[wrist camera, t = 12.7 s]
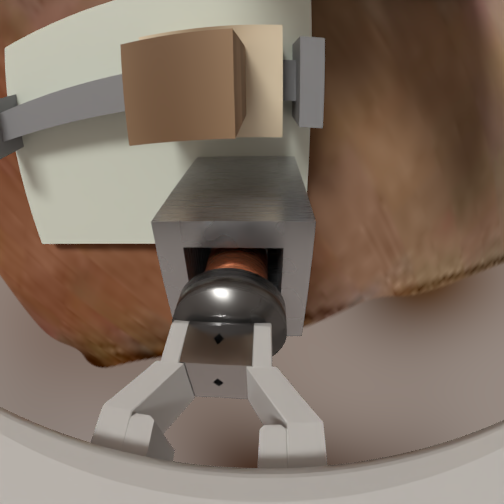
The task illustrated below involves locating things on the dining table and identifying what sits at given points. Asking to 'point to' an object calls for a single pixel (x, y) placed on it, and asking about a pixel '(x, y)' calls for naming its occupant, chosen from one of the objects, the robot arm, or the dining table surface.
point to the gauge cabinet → (239, 224)
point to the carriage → (204, 84)
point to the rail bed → (114, 119)
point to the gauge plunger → (235, 293)
